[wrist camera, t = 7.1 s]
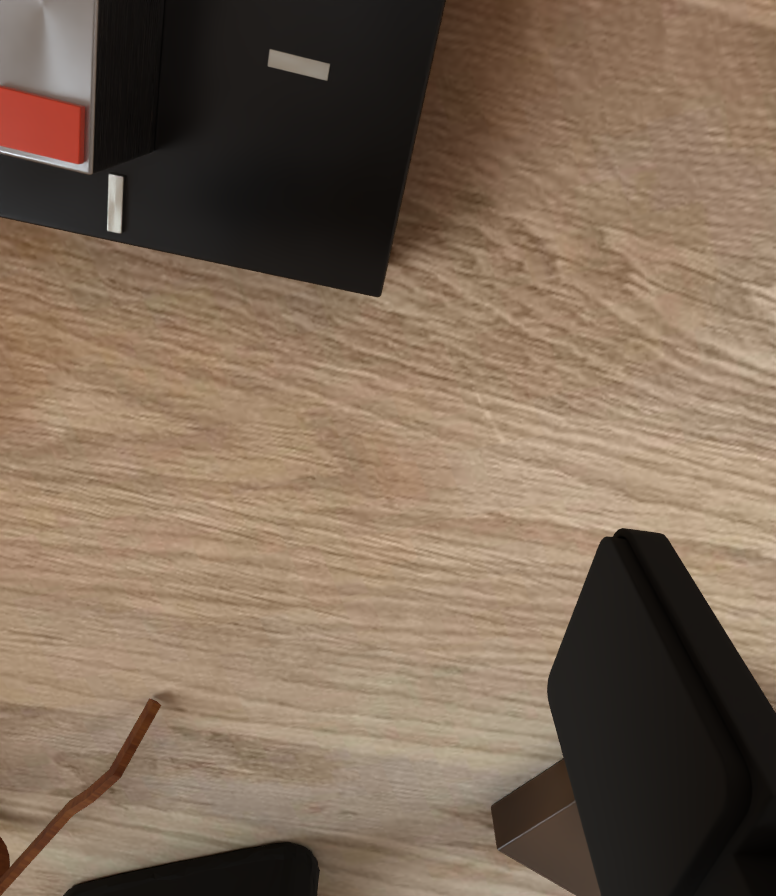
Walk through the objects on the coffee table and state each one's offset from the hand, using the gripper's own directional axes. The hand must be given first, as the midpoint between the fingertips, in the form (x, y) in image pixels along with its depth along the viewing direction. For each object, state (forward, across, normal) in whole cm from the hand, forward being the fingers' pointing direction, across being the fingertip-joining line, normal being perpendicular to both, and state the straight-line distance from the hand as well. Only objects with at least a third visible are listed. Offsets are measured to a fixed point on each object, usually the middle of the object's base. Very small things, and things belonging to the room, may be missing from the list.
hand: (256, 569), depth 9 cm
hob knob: (+11, +5, -6) cm, 13 cm away
